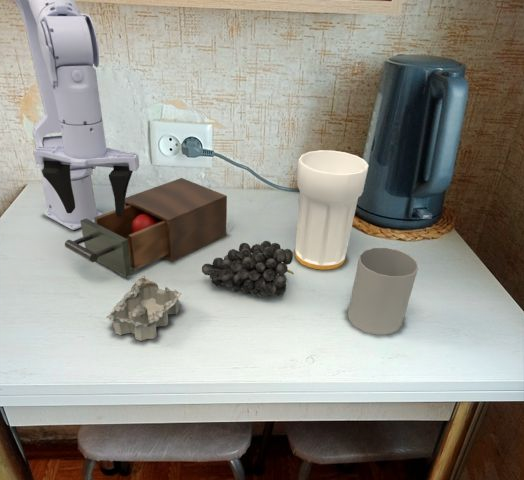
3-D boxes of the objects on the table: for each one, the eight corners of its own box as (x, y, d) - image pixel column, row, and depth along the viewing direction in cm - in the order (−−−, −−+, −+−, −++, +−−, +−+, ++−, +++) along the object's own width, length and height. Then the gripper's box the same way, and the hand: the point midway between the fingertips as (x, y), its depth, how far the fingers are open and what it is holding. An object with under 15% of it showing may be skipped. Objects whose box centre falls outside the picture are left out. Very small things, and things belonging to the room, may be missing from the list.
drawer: (102, 289, 80) (96, 252, 75) (62, 265, 84) (54, 229, 80) (185, 249, 91) (184, 215, 87) (146, 230, 96) (142, 197, 91)
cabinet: (171, 262, 89) (169, 219, 83) (127, 240, 94) (122, 198, 89) (226, 235, 97) (227, 195, 92) (183, 216, 103) (181, 177, 98)
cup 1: (335, 240, 99) (350, 148, 88) (361, 269, 90) (381, 172, 79) (280, 245, 96) (288, 151, 85) (302, 276, 87) (314, 176, 76)
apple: (125, 213, 87) (146, 210, 91) (126, 241, 89) (147, 236, 93) (146, 217, 85) (167, 214, 89) (147, 246, 87) (168, 241, 91)
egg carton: (146, 295, 80) (144, 272, 78) (187, 308, 78) (186, 285, 76) (103, 331, 73) (99, 307, 70) (148, 346, 71) (145, 323, 68)
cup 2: (389, 341, 75) (405, 283, 68) (339, 321, 78) (349, 264, 71) (409, 314, 80) (425, 258, 74) (361, 297, 83) (373, 242, 77)
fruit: (196, 238, 77) (295, 248, 75) (209, 231, 84) (299, 240, 83) (194, 294, 80) (289, 305, 78) (207, 282, 87) (294, 292, 86)
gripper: (16, 124, 67) (39, 220, 75) (126, 131, 67) (136, 227, 76) (36, 109, 72) (55, 200, 81) (138, 116, 72) (146, 207, 81)
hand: (95, 212), depth 79 cm, fingers open, 7 cm apart
